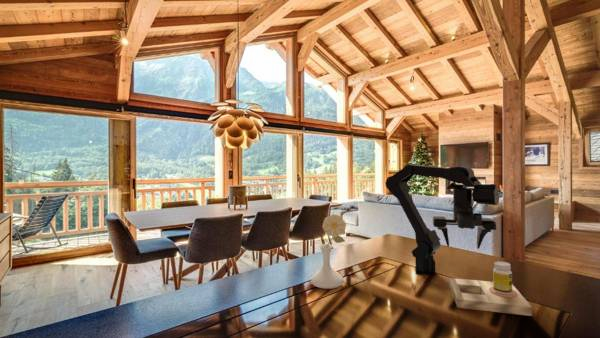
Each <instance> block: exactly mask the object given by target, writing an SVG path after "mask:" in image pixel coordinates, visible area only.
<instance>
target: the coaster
mask: <svg viewBox="0 0 600 338" xmlns="http://www.w3.org/2000/svg"><path fill="white" fill-rule="evenodd" d="M489 291H490V292H491V293H493V294H495V295H497V296H501V297H506V298H514V297H517V296H518V294H517V292H515V291H514V290H512V293H511V294H501V293H497V292H496V291H494V289H493V287H490V288H489Z"/></svg>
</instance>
